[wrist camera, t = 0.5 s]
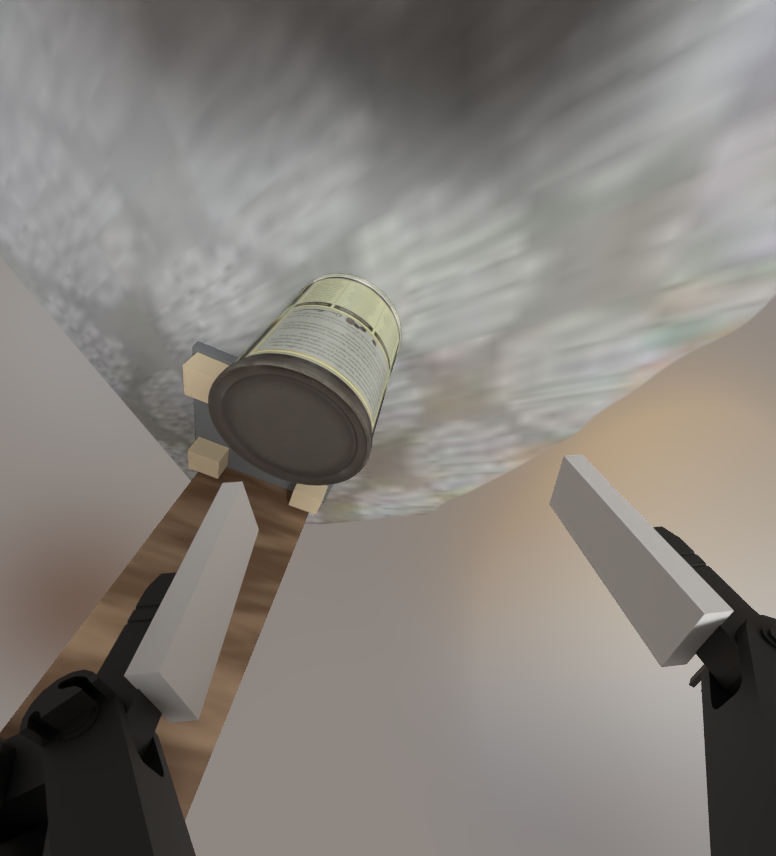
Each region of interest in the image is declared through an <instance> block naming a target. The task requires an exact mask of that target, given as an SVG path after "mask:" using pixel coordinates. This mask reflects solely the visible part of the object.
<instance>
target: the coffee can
mask: <svg viewBox="0 0 776 856" xmlns="http://www.w3.org/2000/svg"><path fill="white" fill-rule="evenodd" d="M400 343H401V325H400V321H399V318H398V315H397V312H396V310H395V308H394V307H393V305H392V303H391V302H390V300H389V299H388V298H387V296H386V295H385V294H384V293H383V292H382V291H381V290H379V289H378V288H377V287H376V286H374V285H373V284H371V283H370V282H368V281H366V280H364V279H362V278H359V277H356V276H353V275H348V274H341V273H337V274H328V275H324V276H321V277H318V278H316V279H314V280H313V281H311V282H310V283H308V284H307V285H306V286H305V287H304V288H303V289H302V291H301V292H300V294H299V295H298V296H297V297H296V298H295V299H294V300H293V301H292V302H291V303H290V304H289V306H288V307H287V308H286V309H285V310H284V311H283V312H282V313H281V314H280V315H279V316H278V317H277V318H276V319H275V320H274V321H273V322H272V323H271V324H270V325H269V326H268V328H267V329H266V330H265V331H264V332H263V333H262V334H261V335H260V336H259V337H258V338H257V339H256V340H255V341H254V342H253V344H252V345H251V346H250V347H249V348H248V349H247V350H246V351H245V352H244V353H243V354H242V355H241V356H240V357H239V358H238V359H237V360H236V361H235V362H234V363H233V364H231V365H230V366H228V367H227V368H226V369H224V370H223V371H222V372H221V373H220V374H219V375H218V377H217V378H216V379H215V380H214V382H213V384H212V386H211V388H210V391H209V396H208V407H209V413H210V416H211V420H212V422H213V424H214V426H215V428H216V429H217V431H218V433H219V434H220V436H221V437H222V439H223V440H224V441H225V442H226V444H227V445H228V446H229V447H230V448H231V449H232V450H233V451H234V452H235V453H236V454H238V455H239V456H240V457H241V458H243V459H244V460H245V461H247V462H248V463H250V464H251V465H253V466H255V467H256V468H258V469H260V470H262V471H264V472H265V473H267V474H269V475H272V476H274V477H277V478H279V479H282V480H286V481H289V482H293V483H298V484H304V485H315V486H321V485H331V484H336V483H340V482H343V481H345V480H348V479H350V478H352V477H353V476H355V475H356V474H357V473H358V472H360V470H361V469H362V468H363V467H364V466H365V464H366V462H367V460H368V458H369V456H370V452H371V447H372V438H373V434H374V431H375V428H376V424H377V421H378V417H379V414H380V410H381V407H382V403H383V400H384V396H385V393H386V389H387V386H388V382H389V379H390V375H391V372H392V369H393V365H394V362H395V359H396V355H397V353H398V351H399V347H400Z"/></svg>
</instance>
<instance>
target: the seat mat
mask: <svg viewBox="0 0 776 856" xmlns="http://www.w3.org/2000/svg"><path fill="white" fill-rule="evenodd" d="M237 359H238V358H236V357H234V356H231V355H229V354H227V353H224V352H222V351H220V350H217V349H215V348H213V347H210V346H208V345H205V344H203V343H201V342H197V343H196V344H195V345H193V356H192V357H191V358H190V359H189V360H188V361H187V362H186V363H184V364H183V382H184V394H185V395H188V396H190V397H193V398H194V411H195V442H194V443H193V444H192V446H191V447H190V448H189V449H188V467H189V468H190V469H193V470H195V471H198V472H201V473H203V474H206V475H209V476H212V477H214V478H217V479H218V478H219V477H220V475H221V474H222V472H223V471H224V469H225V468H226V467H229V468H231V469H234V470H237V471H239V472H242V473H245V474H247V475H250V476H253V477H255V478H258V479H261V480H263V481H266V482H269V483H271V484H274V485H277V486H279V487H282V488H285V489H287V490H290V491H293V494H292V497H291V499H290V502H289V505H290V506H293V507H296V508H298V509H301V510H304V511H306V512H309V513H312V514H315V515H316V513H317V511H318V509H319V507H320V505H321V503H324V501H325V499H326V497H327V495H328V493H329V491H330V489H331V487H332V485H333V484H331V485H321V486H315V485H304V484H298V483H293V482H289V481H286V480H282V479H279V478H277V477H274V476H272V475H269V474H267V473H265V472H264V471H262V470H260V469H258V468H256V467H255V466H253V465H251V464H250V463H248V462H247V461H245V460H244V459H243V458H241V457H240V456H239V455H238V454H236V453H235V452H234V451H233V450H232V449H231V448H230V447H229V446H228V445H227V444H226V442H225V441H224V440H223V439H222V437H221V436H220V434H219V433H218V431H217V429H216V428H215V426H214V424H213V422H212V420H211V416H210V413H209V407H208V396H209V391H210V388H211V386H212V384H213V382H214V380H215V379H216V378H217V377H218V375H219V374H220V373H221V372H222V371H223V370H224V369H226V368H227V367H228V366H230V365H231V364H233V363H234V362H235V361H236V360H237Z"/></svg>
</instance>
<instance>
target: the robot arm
mask: <svg viewBox="0 0 776 856" xmlns="http://www.w3.org/2000/svg"><path fill="white" fill-rule="evenodd" d="M550 506H551V507H552V509H553V510H554V511H555V513H556V514H557V516H558V517H559V519H560V520H561V522H562V523H563V525H564V526H565V528H566V529H567V530H568V532H569V533H570V535H571V536H572V538H573V539H574V541H575V542H576V544H577V545H578V546H579V548H580V549H581V551H582V552H583V554H584V555H585V557H586V558H587V560H588V561H589V562H590V564H591V565H592V567H593V568H594V570H595V571H596V573H597V574H598V576H599V577H600V579H601V580H602V581H603V583H604V584H605V586H606V587H607V588H608V590H609V592H610V593H611V595H612V596H613V597H614V599H615V600H616V602H617V603H618V605H619V606H620V608H621V609H622V611H623V612H624V613H625V615H626V616H627V618H628V619H629V621H630V622H631V624H632V625H633V627H634V628H635V629H636V631H637V632H638V634H639V635H640V637H641V638H642V640H643V641H644V643H645V644H646V646H647V647H648V648H649V650H650V651H651V653H652V654H653V656H654V657H655V659H656V660H657V662H658V663H659V664H660V666H661V667H667V666H675V665H684V664H687V663H688V662H689V661H690V660H691V658H692V657H693V656H694V655H695V654H697V655H698V657H699V658H700V659H701V661H702V662H703V663H704V665H703V666H702V667H701V668H700V669H699V670H698V671H697V672H696V674H695V675H694V676H693V677H692V678H691V680H690V683H689V685H690V686H692V687H695V686H696V685H697V684H698V683H699V682H700V681H701V682H702V683H701V685H702V690H701V691H702V703H703V720H704V738H705V756H706V774H707V775H706V776H707V794H708V812H709V830H710V847H711V856H776V619H775V618H771V617H768V616H764V615H759V614H758V613H757V612H756V611H755V610H753V609H752V608H751V607H750V606H749V605H748V604H747V603H746V602H745V601H744V600H743V599H742V598H741V597H740V596H739V595H738V594H737V593H736V592H735V591H734V590H733V589H732V588H731V587H730V586H728V584H727V583H725V581H724V580H722V579H721V578H720V577H719V576H718V575H717V574H716V573H715V572H714V571H713V570H712V569H711V568H710V567H709V566H706V563H705V562H704V561H703V560H702V559H701V558H700V557H699V556H698V555H695V554H694V551H693V550H692V549H690V547H688V545H686V543H684V542H683V540H681V539H680V538H679V537H678V536H676V535H674V534H673V533H671V532H669V531H668V530H667V529H665V528H663V527H652V526H651V525H650V524H649V523H648V522H647V521H646V520H645V519H644V518H643V517H642V516H641V515H640V514H639V513H638V512H637V511H636V510H635V509H634V508H633V507H632V506H631V505H630V504H629V502H628V501H627V500H626V499H625V498H624V497H623V496H622V495H621V494H620V493H619V492H618V491H617V490H616V489H615V488H614V487H613V486H612V485H611V484H610V483H609V482H608V481H607V480H606V479H605V478H604V477H603V476H602V475H601V474H600V473H599V472H598V471H597V470H596V469H595V468H594V467H593V465H592V464H591V463H590V462H589V461H588V460H587V459H586V458H585V457H584V456H583V455H582V454H579V455H566V456H564V457H563V460H562V464H561V467H560V470H559V474H558V477H557V481H556V484H555V487H554V491H553V494H552V498H551V501H550ZM258 531H259V529H258V526H257V523H256V520H255V517H254V514H253V511H252V508H251V505H250V502H249V499H248V497H247V494H246V491H245V488H244V485H243V482H242V481H241V482H229V483H222V485H221V487H220V489H219V491H218V493H217V495H216V497H215V499H214V501H213V503H212V505H211V507H210V509H209V510H208V512H207V514H206V516H205V518H204V520H203V522H202V524H201V526H200V528H199V530H198V532H197V534H196V536H195V538H194V540H193V542H192V544H191V546H190V548H189V550H188V552H187V553H186V555H185V557H184V559H183V561H182V563H181V565H180V567H179V569H178V571H177V572H174V573H163V574H160V575H159V576H158V577H157V578H156V579H155V580H154V581H153V582H152V583H151V584H150V585H149V586H148V587H147V588H146V589H145V591H144V593H143V595H142V596H141V598H140V600H139V602H138V603H137V605H136V609H135V610H133V612H132V614H131V616H130V617H129V619H128V621H127V622H128V623H127V625H125V626H124V628H123V629H122V631H121V633H120V635H119V636H118V638H117V640H116V642H115V643H114V645H113V647H112V649H111V650H110V652H109V654H108V656H107V657H106V659H105V661H104V663H103V664H102V666H101V668H100V670H99V671H98V673H97V675H96V674H95V673H94V672H92V671H88V670H85V669H84V670H79V671H74V672H71V673H69V674H67V675H65V676H63V677H61V678H59V679H57V680H56V681H55V682H53V683H52V684H51V685H50V686H48V687H47V688H46V689H45V690H43V691H42V692H41V694H40V695H39V696H38V697H37V698H36V699H35V700H34V701H33V702H32V704H31V705H30V706H29V708H28V710H27V711H26V713H25V715H24V717H23V718H22V721H21V725H20V730H19V734H17V735H14V736H12V737H10V738H8V739H3V738H1V737H0V856H196V855H195V852H194V849H193V846H192V843H191V839H190V836H189V833H188V830H187V826H186V823H185V820H184V817H183V813H182V810H181V807H180V804H179V801H178V797H177V794H176V791H175V788H174V785H173V781H172V778H171V775H170V772H169V769H168V765H167V762H166V759H165V756H164V752H163V749H162V746H161V743H160V740H159V736H158V735H157V733H156V732H155V730H156V728H157V725H158V723H159V720H160V717H161V715H162V716H163V717H164V718H165V719H166V720H167V721H168V722H169V723H176V722H185V721H193V720H199V718H200V714H201V711H202V708H203V705H204V702H205V699H206V695H207V692H208V689H209V686H210V683H211V680H212V676H213V673H214V670H215V667H216V664H217V661H218V657H219V654H220V651H221V648H222V645H223V642H224V638H225V635H226V632H227V629H228V626H229V623H230V619H231V616H232V613H233V610H234V607H235V604H236V600H237V597H238V594H239V591H240V588H241V585H242V581H243V578H244V575H245V572H246V569H247V566H248V562H249V559H250V556H251V553H252V550H253V547H254V543H255V540H256V537H257V534H258Z"/></svg>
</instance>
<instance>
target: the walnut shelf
mask: <svg viewBox="0 0 776 856" xmlns="http://www.w3.org/2000/svg"><path fill="white" fill-rule="evenodd" d="M241 481H242V482H243V485H244V488H245V491H246V494H247V497H248V499H249V502H250V505H251V508H252V511H253V514H254V517H255V520H256V523H257V526H258V529H259V531H258V534H257V537H256V540H255V543H254V547H253V550H252V553H251V556H250V559H249V562H248V566H247V569H246V572H245V575H244V578H243V581H242V585H241V588H240V591H239V594H238V597H237V600H236V604H235V607H234V610H233V613H232V616H231V619H230V623H229V626H228V629H227V632H226V635H225V638H224V642H223V645H222V648H221V651H220V654H219V657H218V661H217V664H216V667H215V670H214V673H213V676H212V680H211V683H210V686H209V689H208V692H207V695H206V699H205V702H204V705H203V708H202V711H201V714H200V718H199V720H193V721H185V722H176V723H169V722H168V721H167V720H166V719H165V718H164V717H163V716H162V715H161V717H160V720H159V723H158V725H157V728H156V730H155V732H156V733H157V735H158V736H159V740H160V743H161V746H162V749H163V752H164V756H165V759H166V762H167V765H168V769H169V772H170V775H171V778H172V781H173V785H174V788H175V791H176V794H177V797H178V801H179V804H180V807H181V810H182V813H183V817H184V820H185V819H186V816H187V814H188V811H189V809H190V806H191V804H192V801H193V799H194V796H195V794H196V791H197V789H198V786H199V784H200V781H201V779H202V776H203V774H204V771H205V769H206V766H207V764H208V761H209V759H210V757H211V754H212V752H213V749H214V747H215V744H216V742H217V739H218V737H219V734H220V732H221V729H222V727H223V724H224V722H225V719H226V717H227V714H228V712H229V709H230V707H231V704H232V702H233V700H234V697H235V695H236V692H237V690H238V687H239V685H240V682H241V680H242V677H243V674H244V672H245V670H246V667H247V665H248V662H249V660H250V657H251V655H252V652H253V650H254V647H255V645H256V642H257V640H258V637H259V635H260V632H261V630H262V627H263V625H264V622H265V620H266V618H267V615H268V612H269V610H270V607H271V605H272V603H273V600H274V598H275V595H276V593H277V590H278V588H279V585H280V583H281V580H282V577H283V575H284V573H285V570H286V568H287V565H288V563H289V560H290V558H291V555H292V553H293V550H294V548H295V545H296V543H297V540H298V538H299V536H300V533H301V530H302V528H303V526H304V523H305V521H306V518H307V516H308V513H309V512H306V511H304V510H301V509H298V508H296V507H293V506H290V505H289V502H290V499H291V497H292V494H293V491H290V490H287V489H285V488H282V487H279V486H277V485H274V484H271V483H269V482H266V481H263V480H261V479H258V478H255V477H253V476H250V475H247V474H245V473H242V472H239V471H237V470H234V469H231V468H229V467H226V468H225V469H224V471H223V472H222V474H221V475H220V477H219V478H218V479H217V478H214V477H212V476H209V475H206V474H203V473H201V472H198V473H197V474H196V476H195V477H194V478H193V480H192V481H191V482H190V484H189V485H188V486H187V488H186V489H185V490H184V491H183V493H182V494H181V495H180V497H179V498H178V499H177V501H176V502H175V503H174V505H173V506H172V507H171V509H170V510H169V511H168V513H167V514H166V515H165V516H164V518H163V519H162V521H161V522H160V523H159V524H158V526H157V527H156V528H155V530H154V531H153V532H152V534H151V535H150V536H149V538H148V539H147V540H146V541H145V543H144V544H143V546H142V547H141V548H140V549H139V551H138V552H137V553H136V555H135V556H134V557H133V559H132V560H131V561H130V563H129V564H128V565H127V566H126V568H125V569H124V571H123V572H122V573H121V575H120V576H119V577H118V578H117V580H116V581H115V582H114V584H113V585H112V586H111V588H110V589H109V590H108V592H107V593H106V594H105V595H104V597H103V598H102V599H101V601H100V602H99V603H98V605H97V606H96V607H95V609H94V610H93V611H92V613H91V614H90V615H89V617H88V618H87V619H86V620H85V622H84V623H83V624H82V626H81V627H80V628H79V630H78V631H77V632H76V634H75V635H74V636H73V638H72V639H71V640H70V642H69V643H68V644H67V646H66V647H65V648H64V649H63V651H62V652H61V653H60V655H59V656H58V657H57V659H56V660H55V661H54V663H53V664H52V665H51V667H50V668H49V669H48V671H47V672H46V673H45V674H44V676H43V677H42V678H41V680H40V681H39V683H38V684H37V685H36V686H35V688H34V689H33V690H32V692H31V693H30V694H29V696H28V697H27V698H26V700H25V701H24V702H23V704H22V705H21V706H20V707H19V709H18V710H17V711H16V713H15V714H14V716H13V717H12V718H11V719H10V721H9V722H8V723H7V725H6V726H5V727H4V728H3V730H2V731H1V733H0V737H1V738H3V739H8V738H10V737H12V736H14V735H17V734H19V730H20V725H21V721H22V718H23V717H24V715H25V713H26V711H27V710H28V708H29V706H30V705H31V704H32V702H33V701H34V700H35V699H36V698H37V697H38V696H39V695H40V694H41V692H42V691H43V690H45V689H46V688H47V687H48V686H50V685H51V684H52V683H53V682H55V681H56V680H57V679H59V678H61V677H63V676H65V675H67V674H69V673H71V672H74V671H79V670H84V669H85V670H88V671H92V672H94V673H95V674H96V675H97V673H98V671H99V670H100V668H101V666H102V664H103V663H104V661H105V659H106V657H107V656H108V654H109V652H110V650H111V649H112V647H113V645H114V643H115V642H116V640H117V638H118V636H119V635H120V633H121V631H122V629H123V628H124V626H125V625H127V623H128V622H127V621H128V619H129V617H130V616H131V614H132V612H133V610H135V609H136V605H137V603H138V602H139V600H140V598H141V596H142V595H143V593H144V591H145V589H146V588H147V587H148V586H149V585H150V584H151V583H152V582H153V581H154V580H155V579H156V578H157V577H158V576H159V575H160V574H163V573H174V572H177V571H178V569H179V567H180V565H181V563H182V561H183V559H184V557H185V555H186V553H187V552H188V550H189V548H190V546H191V544H192V542H193V540H194V538H195V536H196V534H197V532H198V530H199V528H200V526H201V524H202V522H203V520H204V518H205V516H206V514H207V512H208V510H209V509H210V507H211V505H212V503H213V501H214V499H215V497H216V495H217V493H218V491H219V489H220V487H221V485H222V483H229V482H241Z"/></svg>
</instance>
